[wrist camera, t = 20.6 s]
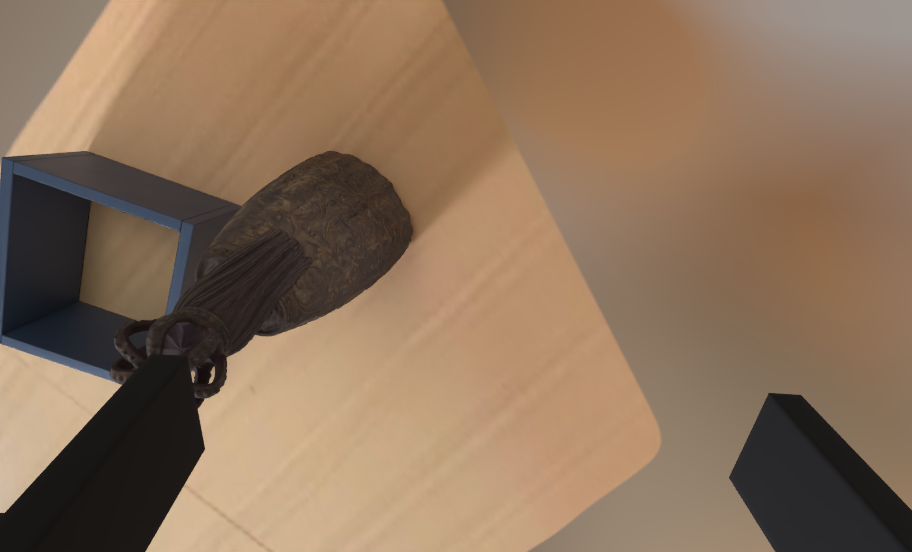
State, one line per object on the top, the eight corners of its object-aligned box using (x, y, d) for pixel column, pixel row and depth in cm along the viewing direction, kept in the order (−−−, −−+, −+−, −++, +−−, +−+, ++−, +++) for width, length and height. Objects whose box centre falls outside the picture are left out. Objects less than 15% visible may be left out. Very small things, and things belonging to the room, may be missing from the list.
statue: (301, 243, 39) (13, 433, 15) (309, 145, 37) (-16, 190, 13) (409, 262, 39) (289, 484, 15) (423, 166, 37) (309, 250, 13)
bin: (244, 207, 38) (194, 225, 32) (211, 354, 42) (160, 397, 36) (86, 150, 38) (0, 156, 31) (68, 305, 42) (-11, 340, 35)
